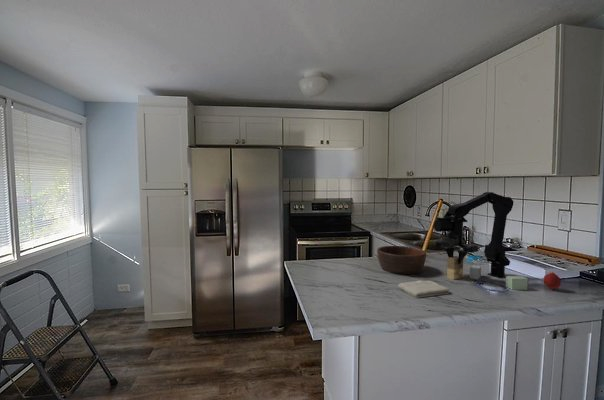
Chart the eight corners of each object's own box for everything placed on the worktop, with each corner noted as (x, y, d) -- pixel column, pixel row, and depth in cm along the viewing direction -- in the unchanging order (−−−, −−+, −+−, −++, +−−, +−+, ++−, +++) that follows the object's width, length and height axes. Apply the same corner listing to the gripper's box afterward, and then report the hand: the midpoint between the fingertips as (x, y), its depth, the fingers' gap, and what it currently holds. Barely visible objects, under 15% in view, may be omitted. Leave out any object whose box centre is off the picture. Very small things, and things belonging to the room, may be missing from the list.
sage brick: (520, 287, 129) (521, 276, 128) (527, 289, 125) (527, 278, 125) (505, 287, 128) (506, 276, 128) (511, 290, 125) (512, 278, 124)
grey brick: (472, 274, 146) (473, 265, 146) (480, 276, 144) (481, 266, 144) (469, 278, 141) (469, 267, 141) (477, 279, 139) (478, 269, 138)
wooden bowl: (368, 269, 154) (369, 250, 154) (388, 260, 173) (388, 243, 173) (416, 279, 138) (416, 258, 138) (432, 268, 157) (432, 249, 157)
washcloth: (451, 294, 120) (451, 287, 120) (415, 299, 114) (416, 292, 114) (430, 285, 132) (430, 278, 131) (396, 289, 126) (397, 282, 126)
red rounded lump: (556, 288, 127) (557, 270, 127) (563, 292, 122) (564, 273, 121) (540, 286, 129) (541, 268, 129) (546, 291, 123) (547, 272, 123)
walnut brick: (456, 266, 144) (456, 256, 144) (463, 267, 141) (463, 257, 141) (447, 267, 141) (447, 257, 141) (454, 269, 138) (454, 259, 138)
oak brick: (455, 275, 144) (456, 266, 144) (462, 277, 141) (463, 267, 141) (446, 277, 141) (447, 267, 141) (453, 279, 138) (454, 269, 138)
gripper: (428, 229, 145) (427, 260, 145) (464, 235, 128) (463, 270, 129) (443, 228, 150) (442, 258, 151) (479, 233, 133) (478, 266, 134)
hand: (455, 263), depth 141 cm, fingers open, 4 cm apart
